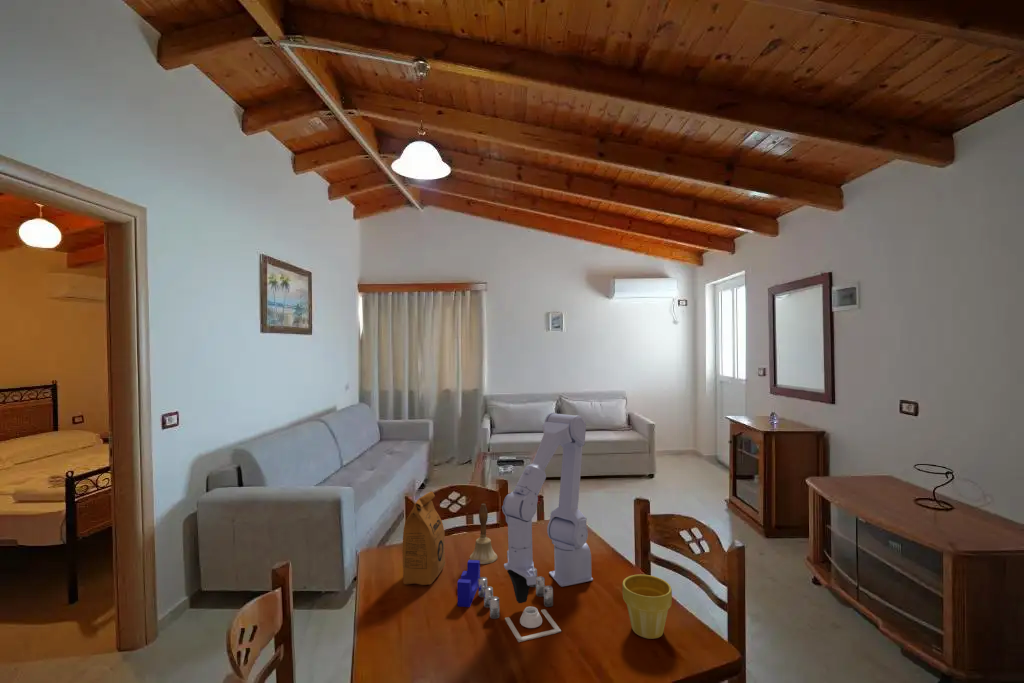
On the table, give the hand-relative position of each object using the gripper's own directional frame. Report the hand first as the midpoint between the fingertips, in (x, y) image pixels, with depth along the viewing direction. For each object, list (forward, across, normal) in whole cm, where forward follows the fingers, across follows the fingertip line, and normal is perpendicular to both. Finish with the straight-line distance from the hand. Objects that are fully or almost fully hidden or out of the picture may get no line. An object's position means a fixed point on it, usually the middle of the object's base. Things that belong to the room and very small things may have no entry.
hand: (521, 601), depth 112 cm
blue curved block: (+2, -12, -11) cm, 16 cm away
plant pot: (+2, +18, +23) cm, 29 cm away
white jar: (+2, +6, 0) cm, 6 cm away
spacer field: (+2, -4, 0) cm, 5 cm away
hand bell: (+2, -30, -1) cm, 30 cm away
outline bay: (+2, +6, 0) cm, 7 cm away
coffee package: (+2, -24, -19) cm, 31 cm away
